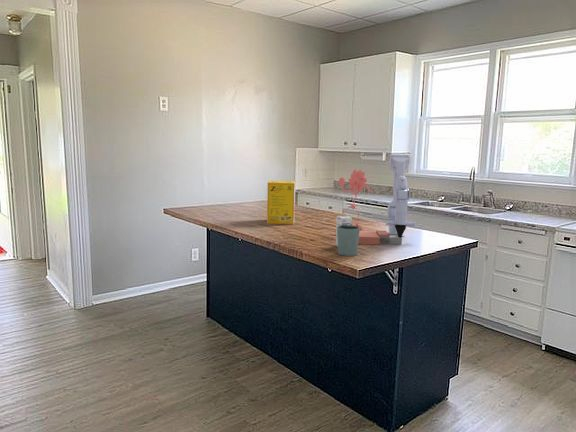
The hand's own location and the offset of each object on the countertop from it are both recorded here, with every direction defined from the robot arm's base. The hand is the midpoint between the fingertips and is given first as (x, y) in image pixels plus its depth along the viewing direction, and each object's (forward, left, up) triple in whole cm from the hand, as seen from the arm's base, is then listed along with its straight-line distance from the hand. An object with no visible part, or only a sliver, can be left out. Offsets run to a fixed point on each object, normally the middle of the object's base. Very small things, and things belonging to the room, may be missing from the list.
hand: (399, 239), depth 223 cm
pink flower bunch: (-22, -20, -1) cm, 30 cm away
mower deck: (0, -11, -1) cm, 11 cm away
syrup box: (+15, -29, -1) cm, 33 cm away
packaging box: (-50, -64, -1) cm, 81 cm away
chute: (+2, -6, -1) cm, 6 cm away
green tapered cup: (+29, -28, -1) cm, 40 cm away
